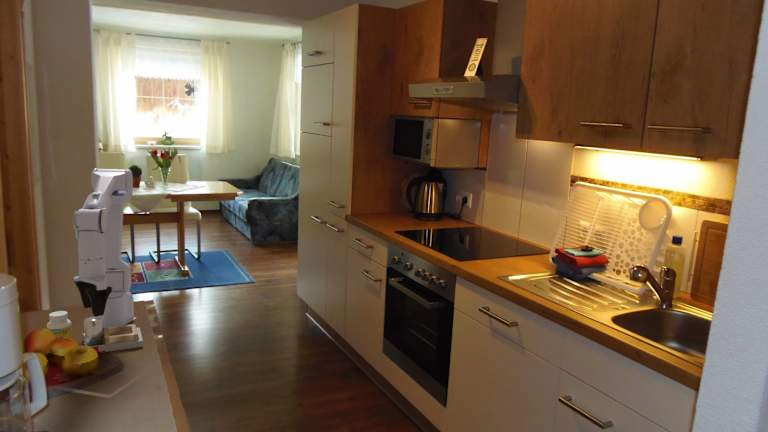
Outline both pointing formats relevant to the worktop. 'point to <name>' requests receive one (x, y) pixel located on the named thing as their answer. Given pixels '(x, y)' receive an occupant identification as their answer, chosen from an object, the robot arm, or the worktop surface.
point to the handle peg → (93, 331)
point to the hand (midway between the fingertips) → (93, 311)
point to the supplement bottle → (60, 324)
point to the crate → (120, 334)
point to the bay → (120, 345)
